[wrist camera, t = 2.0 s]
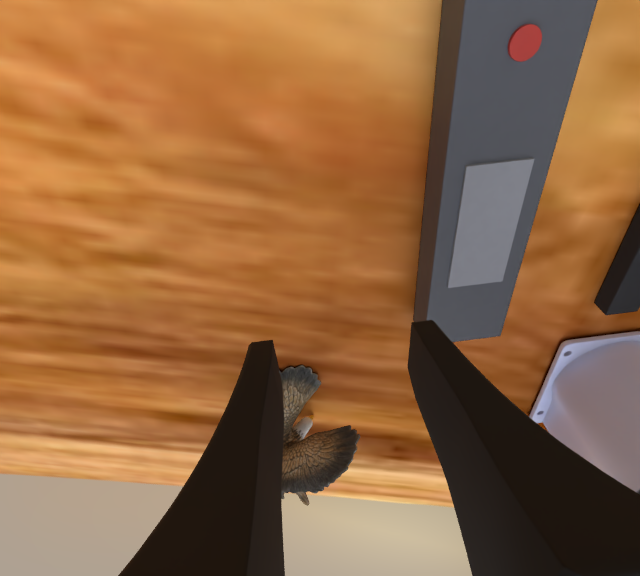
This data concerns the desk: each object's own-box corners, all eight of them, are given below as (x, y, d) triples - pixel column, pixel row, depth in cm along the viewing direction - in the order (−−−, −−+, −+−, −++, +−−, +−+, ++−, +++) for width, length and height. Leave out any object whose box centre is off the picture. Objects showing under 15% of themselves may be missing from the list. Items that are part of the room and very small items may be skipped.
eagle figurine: (333, 459, 33) (382, 413, 26) (284, 546, 28) (330, 516, 21) (257, 401, 34) (287, 343, 27) (197, 475, 29) (215, 425, 22)
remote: (485, 310, 25) (501, 338, 23) (413, 319, 25) (424, 347, 23) (570, -44, 14) (613, -43, 13) (444, -31, 14) (470, -28, 13)
